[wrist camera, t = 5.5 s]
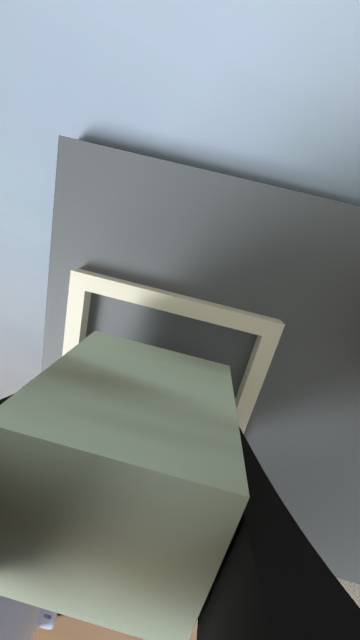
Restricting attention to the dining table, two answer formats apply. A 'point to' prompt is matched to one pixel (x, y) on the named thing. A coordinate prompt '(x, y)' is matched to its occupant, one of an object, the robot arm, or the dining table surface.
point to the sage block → (120, 486)
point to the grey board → (226, 309)
